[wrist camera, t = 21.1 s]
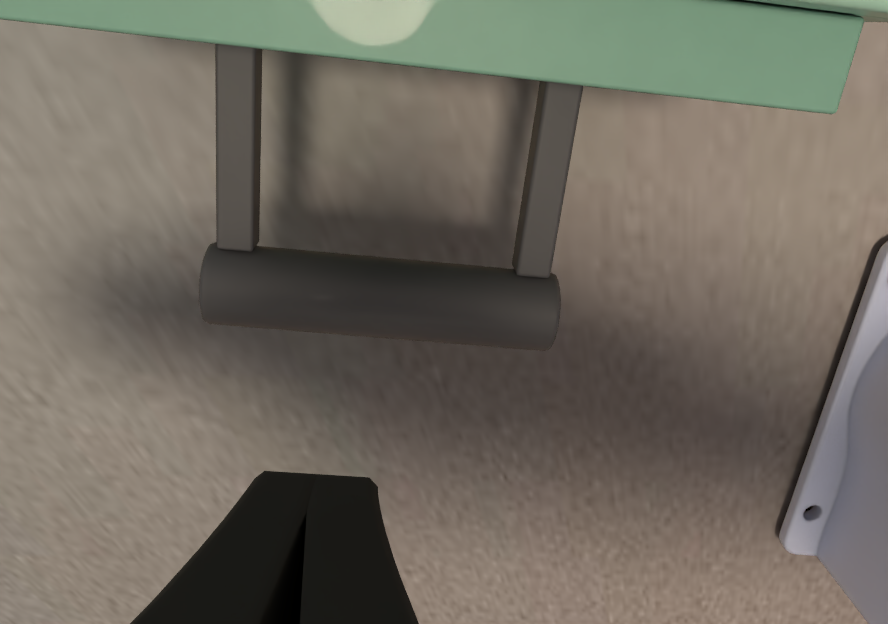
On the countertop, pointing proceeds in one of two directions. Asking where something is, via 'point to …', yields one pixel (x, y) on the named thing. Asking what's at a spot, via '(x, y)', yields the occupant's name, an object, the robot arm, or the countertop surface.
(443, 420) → the countertop surface
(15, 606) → the countertop surface
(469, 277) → the drawer
